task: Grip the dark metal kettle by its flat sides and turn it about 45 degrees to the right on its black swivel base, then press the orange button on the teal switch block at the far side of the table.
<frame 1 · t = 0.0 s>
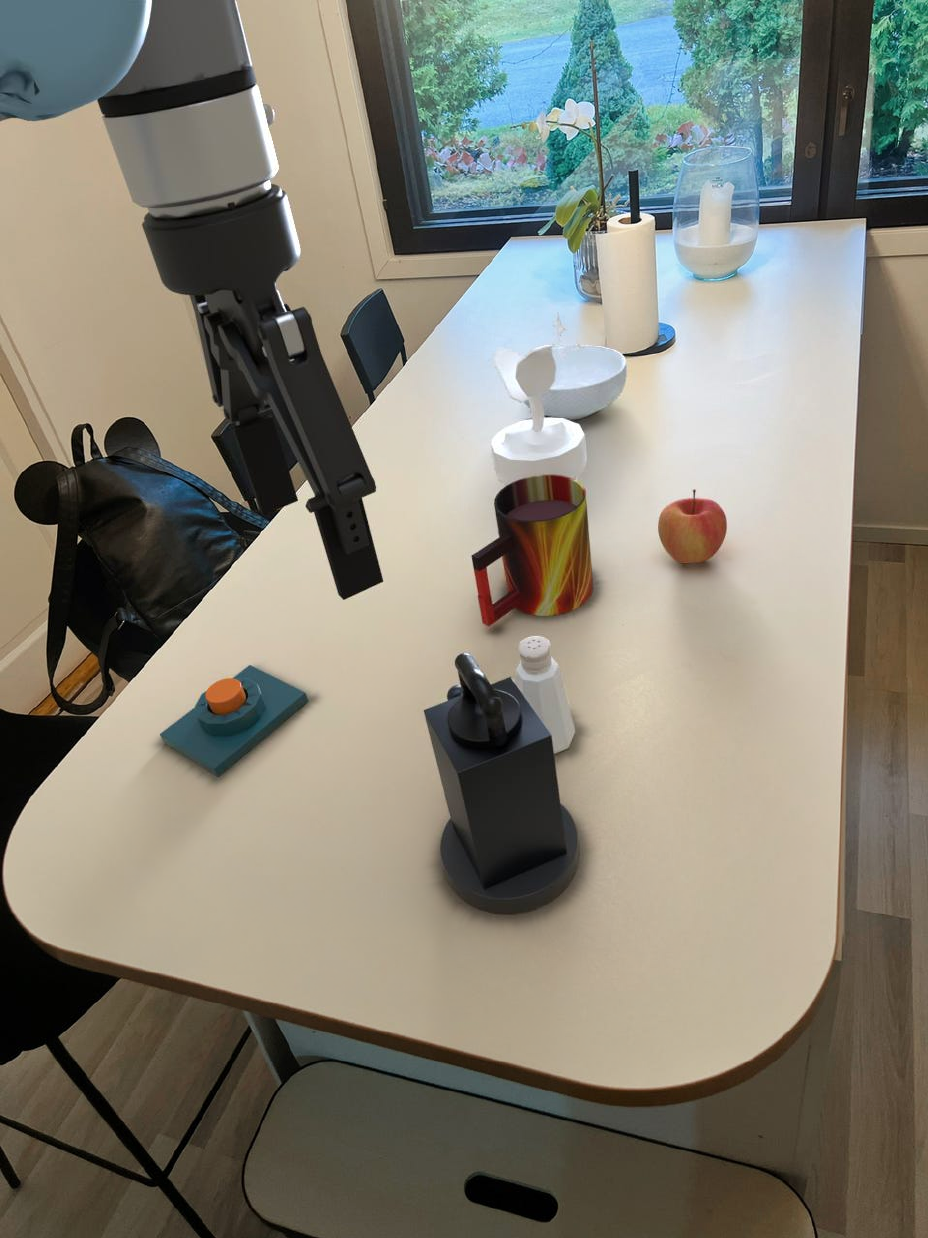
hand: (316, 544, 57), 29 cm above the table, tool pointing down, fingers open, 13 cm apart
salt shaker: (546, 737, 81), on the table
switch block: (236, 721, 89), on the table
mug: (544, 602, 97), on the table
kettle base: (511, 855, 71), on the table
apple: (691, 559, 99), on the table
potted plant: (543, 506, 113), on the table
cereal bowl: (573, 410, 134), on the table
power button: (225, 696, 87), point 3 cm above the table, slide at 0.1 cm
kettle: (486, 752, 65), point 11 cm above the table, hinge at 0.0°
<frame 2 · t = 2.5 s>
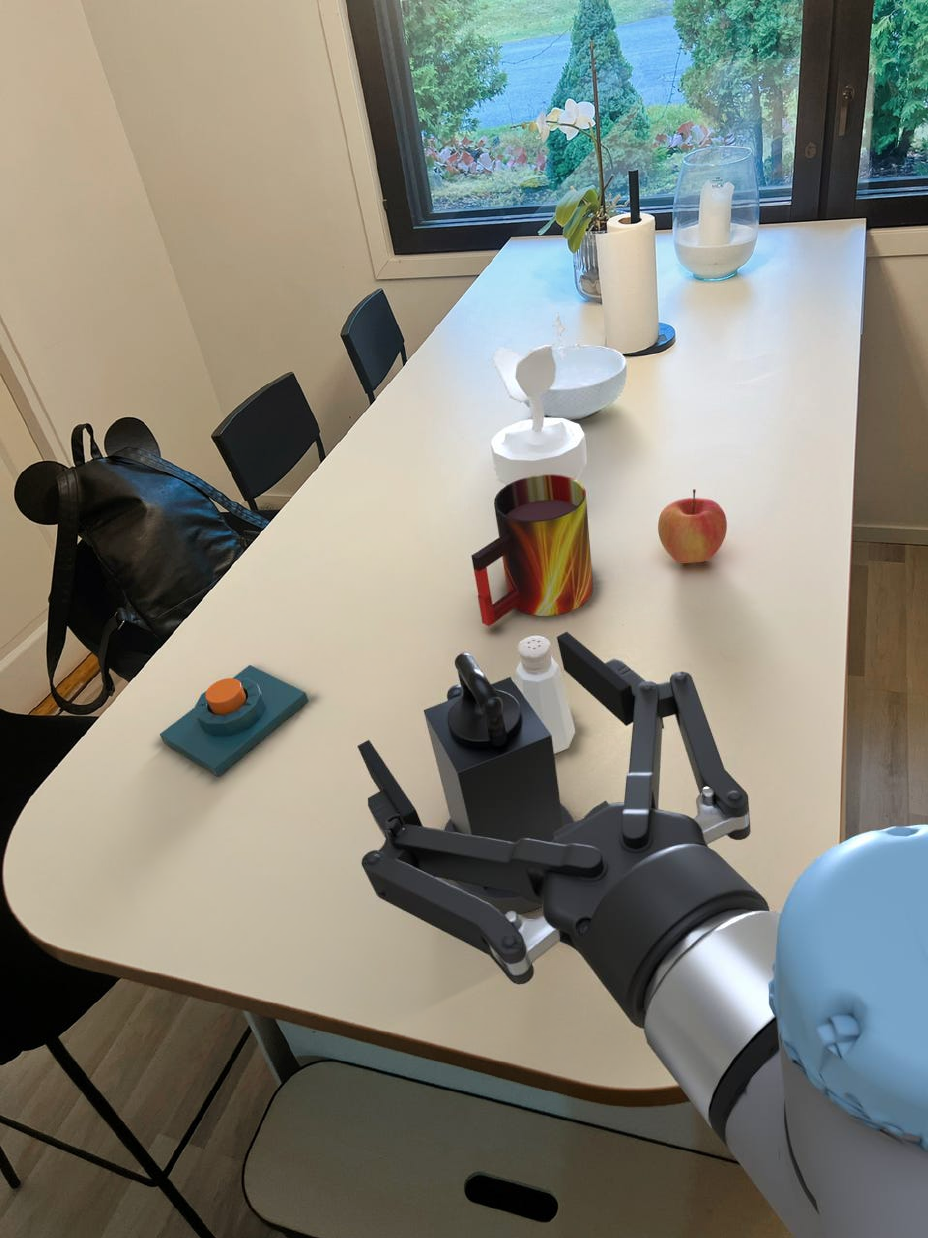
hand: (470, 702, 52), 23 cm above the table, tool horizontal, fingers open, 13 cm apart
nothing on the table moved.
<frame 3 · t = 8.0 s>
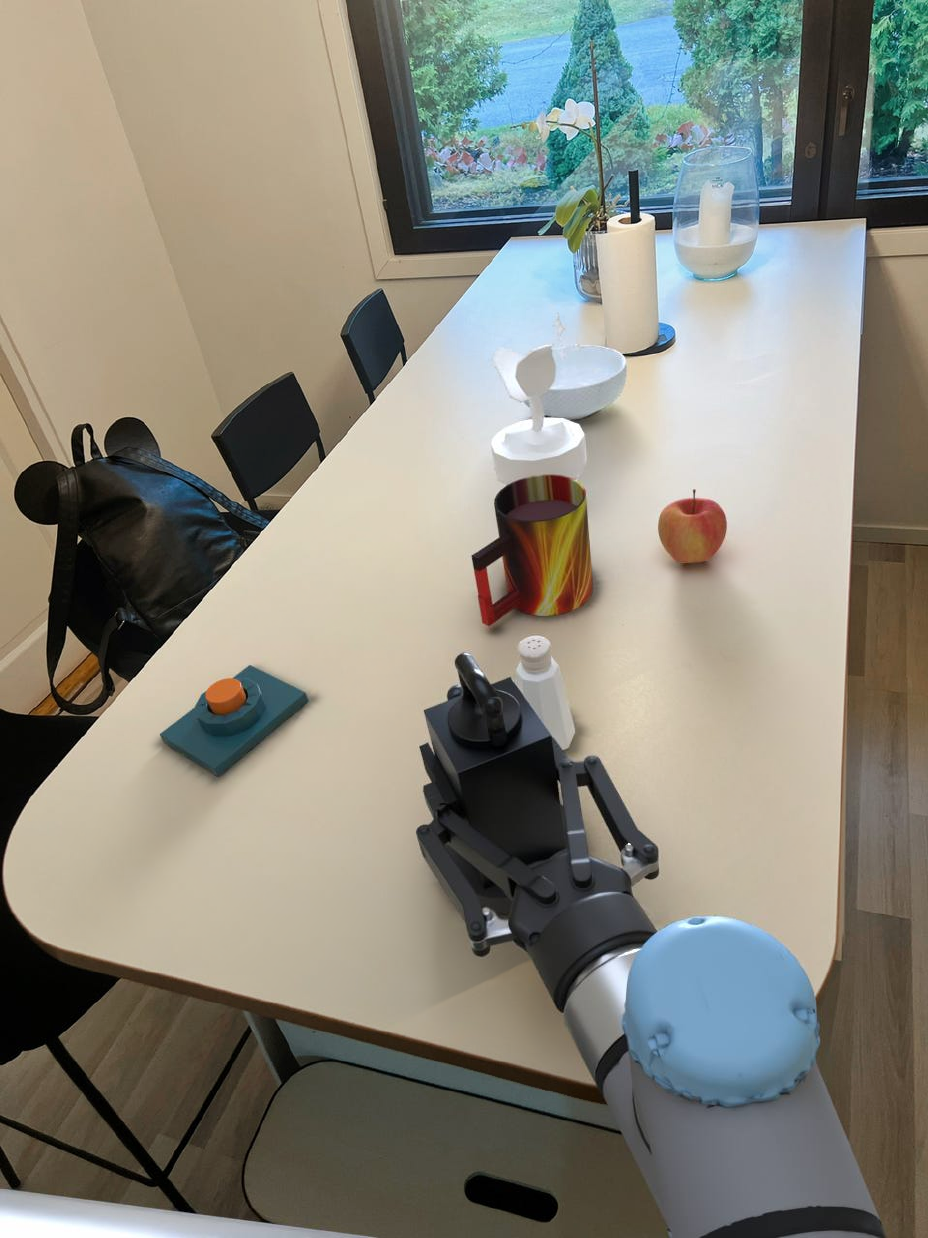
hand: (472, 738, 69), 9 cm above the table, tool horizontal, fingers closed on kettle, 7 cm apart
kettle: (486, 752, 65), point 11 cm above the table, hinge at 0.0°, touching gripper
everything else where it was.
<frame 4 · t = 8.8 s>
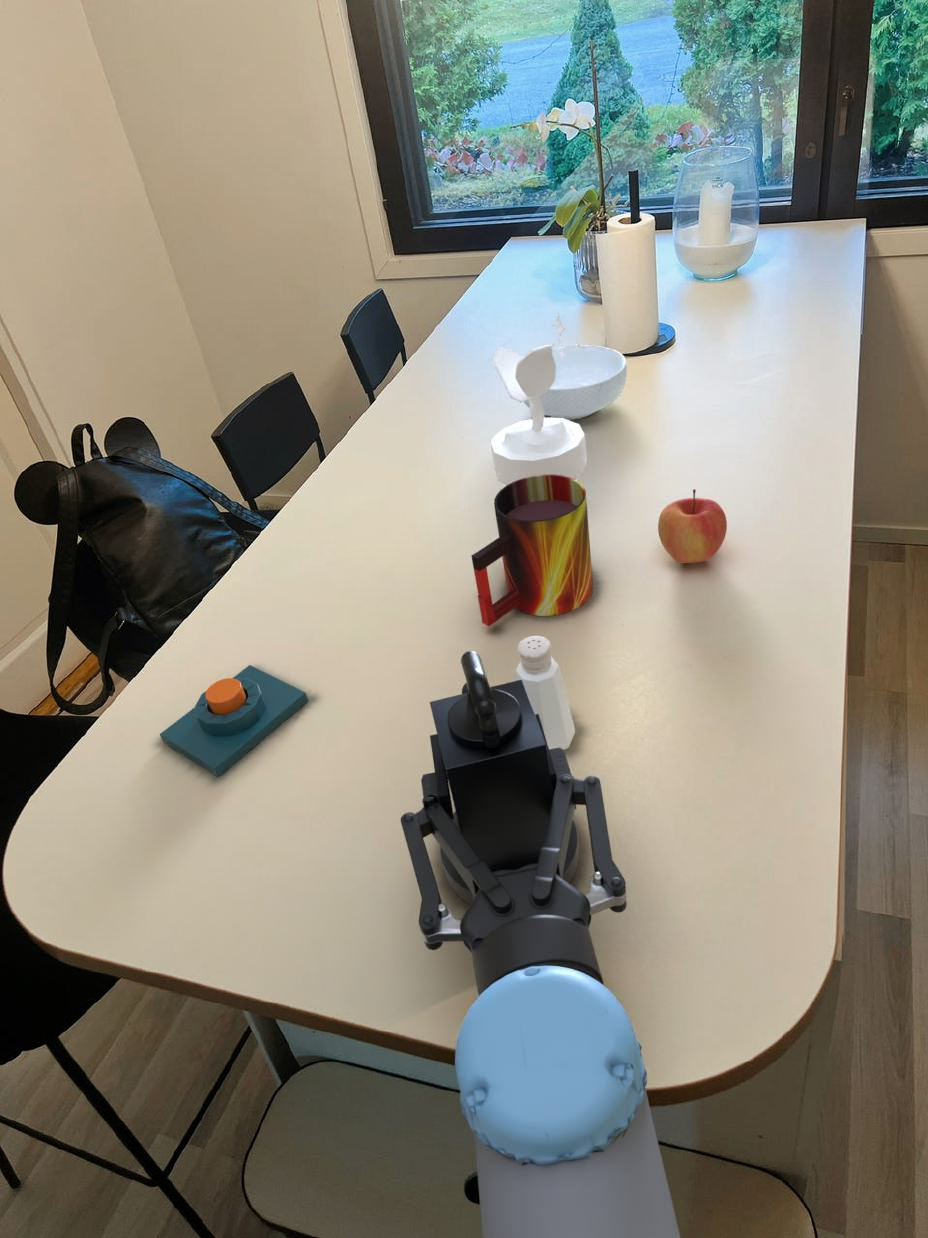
hand: (486, 737, 70), 8 cm above the table, tool horizontal, fingers closed on kettle, 7 cm apart
kettle: (489, 751, 65), point 11 cm above the table, hinge at -10.7°, touching gripper
everything else where it was.
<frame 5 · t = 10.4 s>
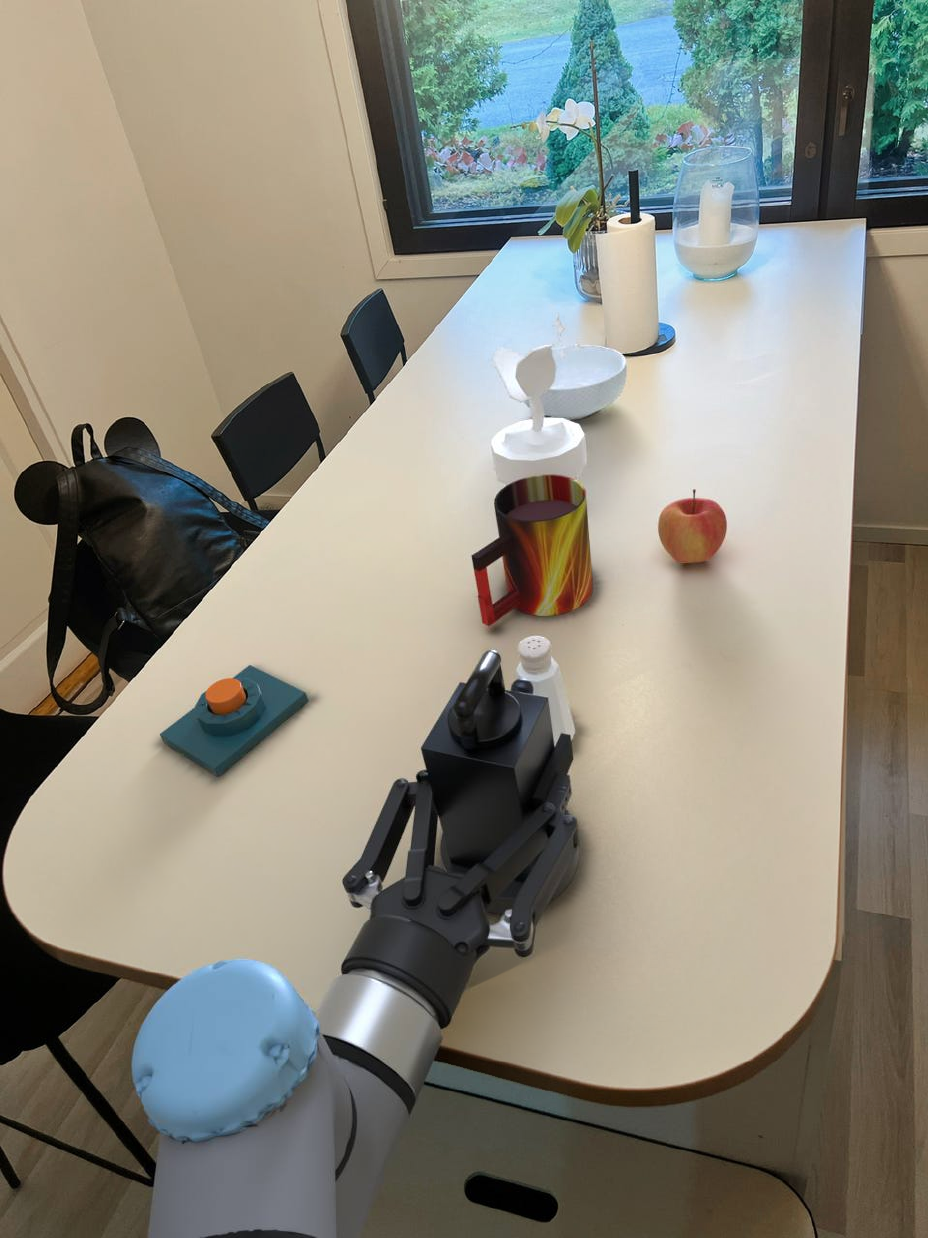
hand: (520, 737, 69), 9 cm above the table, tool horizontal, fingers closed on kettle, 7 cm apart
kettle: (499, 751, 65), point 11 cm above the table, hinge at -44.7°, touching gripper
everything else where it was.
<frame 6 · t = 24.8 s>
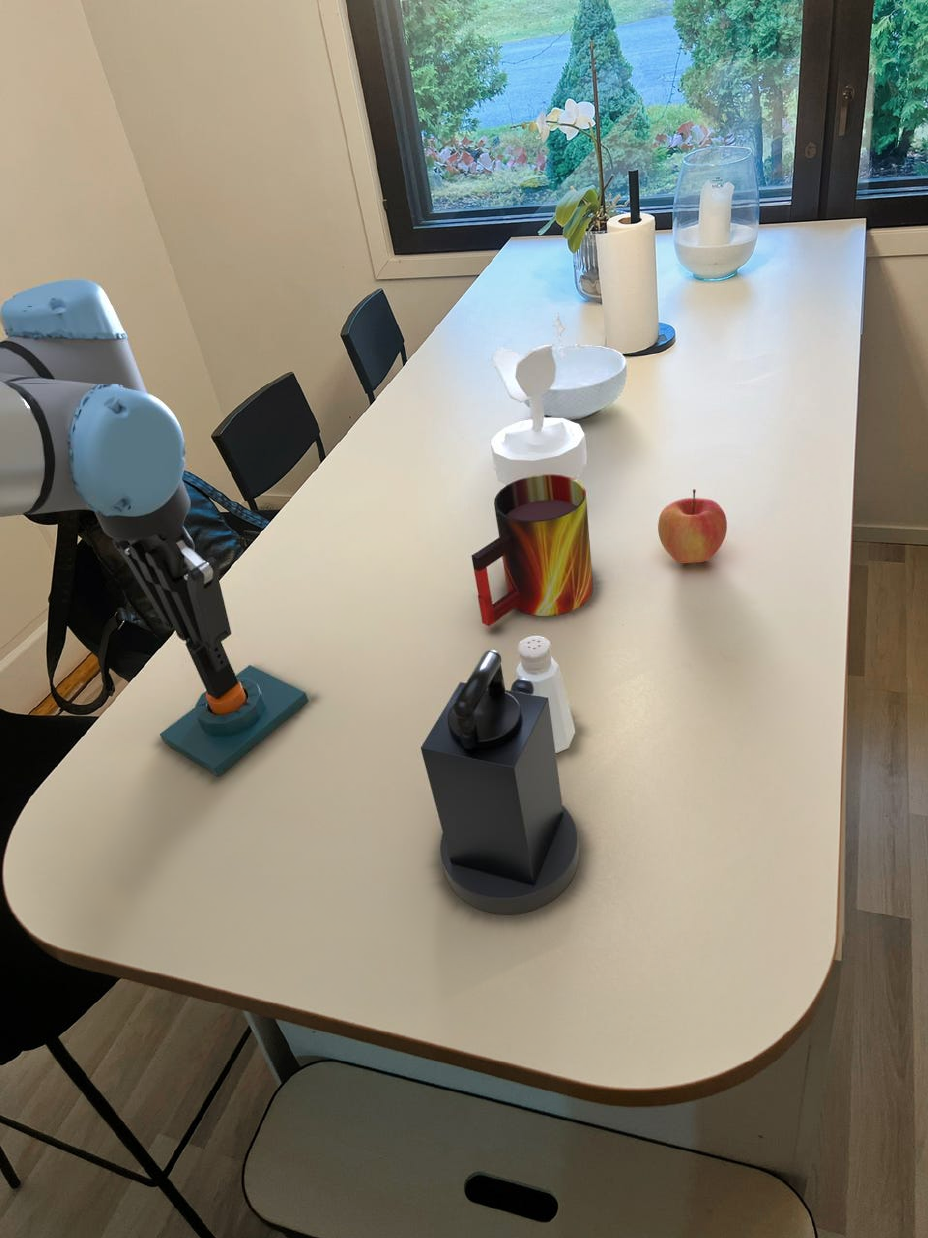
hand: (223, 688, 86), 4 cm above the table, tool pointing down, fingers closed
power button: (226, 697, 87), point 3 cm above the table, slide at 0.0 cm, touching gripper
kettle: (499, 751, 65), point 11 cm above the table, hinge at -44.9°
everything else where it was.
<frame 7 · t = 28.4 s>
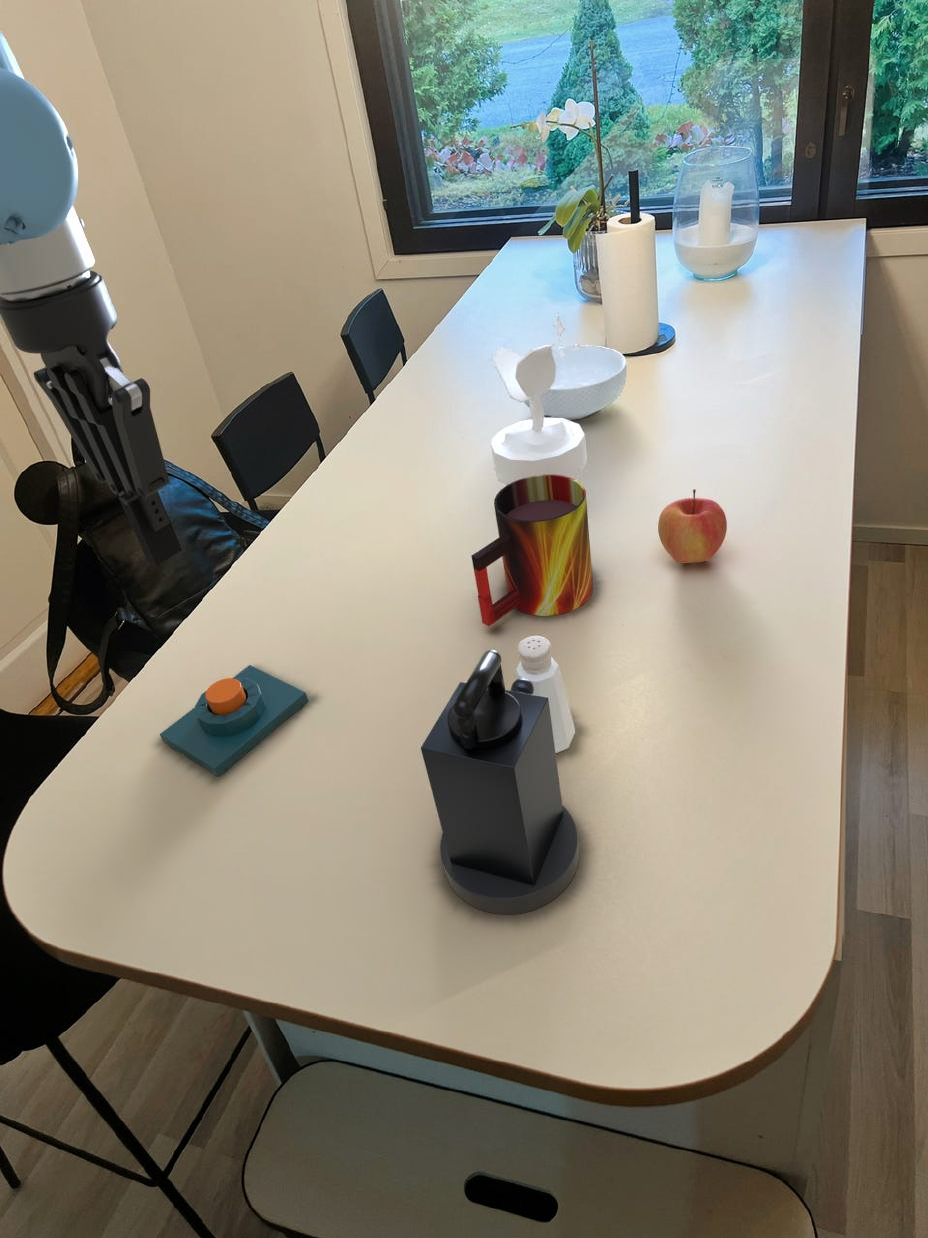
hand: (164, 555, 76), 20 cm above the table, tool pointing down, fingers closed
power button: (225, 696, 87), point 3 cm above the table, slide at 0.1 cm
everything else where it was.
at the end: kettle at -45° (first picture: +0°); power button pushed in 1.0 cm at the most during the clip, back to where it started at the end; power button slide at 0.1 cm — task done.
